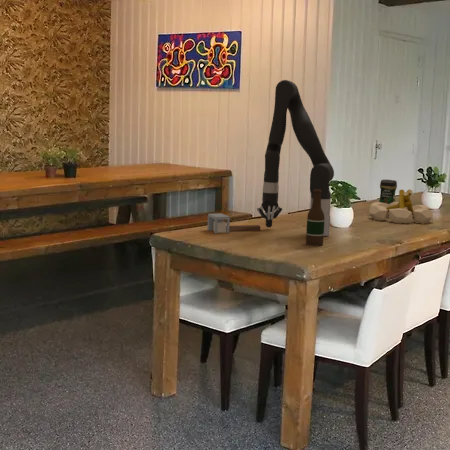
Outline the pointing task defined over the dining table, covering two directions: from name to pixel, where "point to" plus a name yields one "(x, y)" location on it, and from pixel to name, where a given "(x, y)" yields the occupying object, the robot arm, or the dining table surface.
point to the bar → (244, 228)
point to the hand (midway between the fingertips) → (268, 227)
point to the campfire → (401, 210)
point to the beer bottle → (315, 221)
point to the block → (220, 226)
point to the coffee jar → (387, 191)
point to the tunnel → (216, 218)
